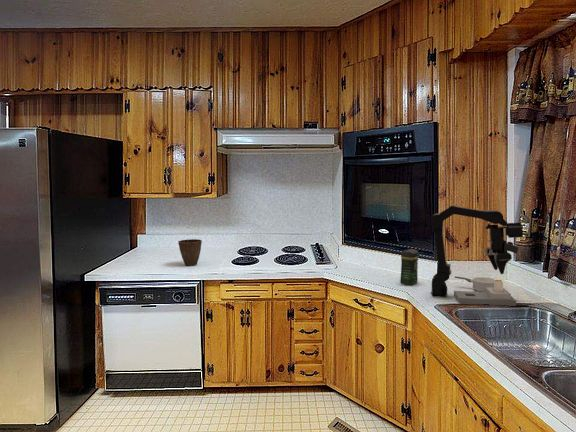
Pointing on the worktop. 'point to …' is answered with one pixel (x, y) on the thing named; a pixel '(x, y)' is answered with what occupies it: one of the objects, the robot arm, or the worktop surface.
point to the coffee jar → (409, 267)
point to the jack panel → (485, 297)
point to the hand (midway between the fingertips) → (498, 271)
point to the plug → (498, 286)
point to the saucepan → (480, 283)
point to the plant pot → (190, 251)
